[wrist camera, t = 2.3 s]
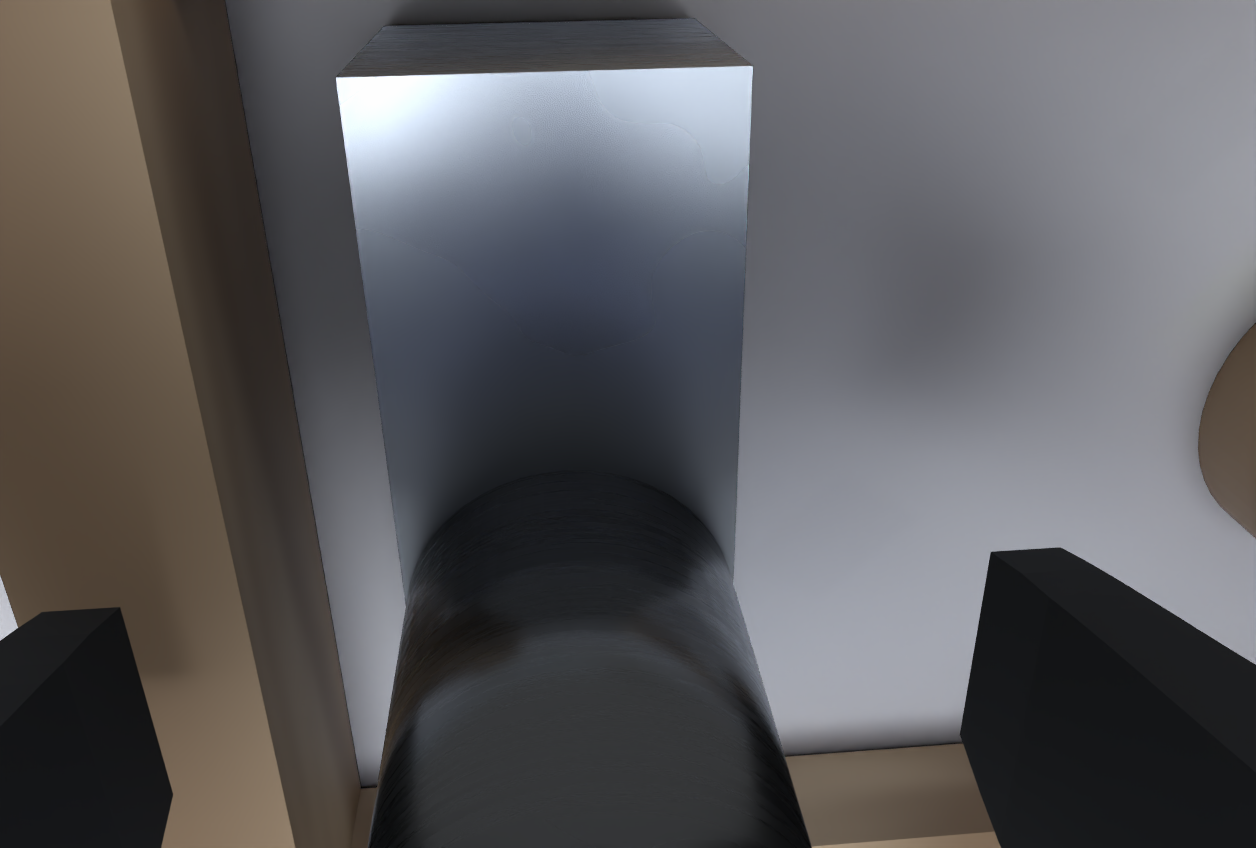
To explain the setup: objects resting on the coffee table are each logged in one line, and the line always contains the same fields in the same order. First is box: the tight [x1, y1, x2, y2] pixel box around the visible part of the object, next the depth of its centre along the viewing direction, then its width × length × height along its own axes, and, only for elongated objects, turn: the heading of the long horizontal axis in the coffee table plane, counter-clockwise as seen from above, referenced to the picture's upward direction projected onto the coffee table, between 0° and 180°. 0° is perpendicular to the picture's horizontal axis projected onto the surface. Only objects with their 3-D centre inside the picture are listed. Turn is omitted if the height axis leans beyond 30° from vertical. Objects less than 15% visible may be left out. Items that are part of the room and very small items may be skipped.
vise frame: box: [0, 0, 1001, 848], centre depth 12 cm, size 21×13×3 cm, turn 91°
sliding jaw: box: [336, 18, 812, 848], centre depth 10 cm, size 3×10×7 cm, turn 1°
